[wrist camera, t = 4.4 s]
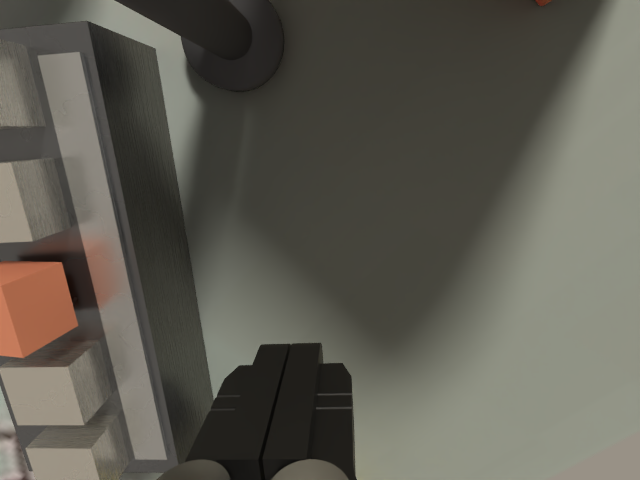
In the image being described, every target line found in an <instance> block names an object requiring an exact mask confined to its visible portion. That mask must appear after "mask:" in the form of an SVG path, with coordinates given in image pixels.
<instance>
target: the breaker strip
mask: <svg viewBox="0 0 640 480" xmlns="http://www.w3.org/2000/svg"><path fill="white" fill-rule="evenodd" d="M2 261H32V262H62V265H63V269H64V273H65V277H66V280H67V284H68V288H69V292H70V296H71V300H72V303H73V307H74V311H75V315H76V319H77V322H78V326H77V327H75V328H73V329H72V330H70V331H68V332H67V333H65V334H63V335H62V336H60V337H58V338H57V339H55V340H53V341H51V342H50V343H48V344H46V345H45V346H43V347H41V348H40V349H38V350H36V351H35V352H33V353H31V354H29V355H28V356H26V357H24V358H18V357H9V356H0V386H1V389H2V392H3V395H4V398H5V401H6V404H7V407H8V410H9V413H10V416H11V419H12V421H13V424H14V427H15V430H16V433H17V436H18V439H19V442H20V445H21V448H22V451H23V454H24V457H25V460H26V463H27V466H28V469H29V471H33V473H34V476H35V479H36V480H118V479H119V478H120V476H121V475H122V473H123V472H156V473H165V472H167V471H168V470H169V469H171V468H173V467H175V466H177V465H179V464H182V463H184V462H185V460H186V458H187V456H188V454H189V452H190V450H191V447H192V445H193V443H194V441H195V439H196V437H197V435H198V433H199V431H200V429H201V427H202V425H203V423H204V421H205V419H206V417H207V414H208V412H209V411H211V406H212V404H213V402H214V401H213V395H212V388H211V382H210V376H209V370H208V364H207V358H206V352H205V346H204V340H203V334H202V328H201V322H200V316H199V310H198V304H197V298H196V292H195V286H194V280H193V274H192V268H191V262H190V256H189V250H188V244H187V238H186V232H185V226H184V219H183V213H182V207H181V201H180V195H179V189H178V183H177V177H176V171H175V165H174V159H173V153H172V147H171V141H170V135H169V129H168V123H167V117H166V111H165V105H164V99H163V93H162V87H161V81H160V75H159V69H158V63H157V56H156V50H155V48H153V47H150V46H148V45H145V44H143V43H140V42H138V41H135V40H133V39H130V38H128V37H126V36H123V35H121V34H118V33H116V32H113V31H111V30H108V29H106V28H103V27H101V26H98V25H96V24H93V23H91V22H89V21H81V22H71V23H61V24H51V25H40V26H30V27H20V28H10V29H0V262H2Z"/></svg>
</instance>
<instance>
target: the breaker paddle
mask: <svg viewBox="0 0 640 480" xmlns="http://www.w3.org/2000/svg"><path fill="white" fill-rule="evenodd" d="M77 326H78V322H77V319H76V315H75V311H74V307H73V303H72V300H71V296H70V292H69V288H68V284H67V280H66V277H65V273H64V269H63V265H62V262H32V261H2V262H0V356H9V357H18V358H24V357H26V356H28V355H29V354H31V353H33V352H35V351H36V350H38V349H40V348H41V347H43V346H45V345H46V344H48V343H50V342H51V341H53V340H55V339H57V338H58V337H60V336H62V335H63V334H65V333H67V332H68V331H70V330H72V329H73V328H75V327H77Z"/></svg>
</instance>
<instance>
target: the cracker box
mask: <svg viewBox="0 0 640 480" xmlns="http://www.w3.org/2000/svg"><path fill="white" fill-rule="evenodd" d="M535 1H536V2H537V3H538V4H539V6H544V5H546V4H547V3H549V2H550V1H552V0H535Z"/></svg>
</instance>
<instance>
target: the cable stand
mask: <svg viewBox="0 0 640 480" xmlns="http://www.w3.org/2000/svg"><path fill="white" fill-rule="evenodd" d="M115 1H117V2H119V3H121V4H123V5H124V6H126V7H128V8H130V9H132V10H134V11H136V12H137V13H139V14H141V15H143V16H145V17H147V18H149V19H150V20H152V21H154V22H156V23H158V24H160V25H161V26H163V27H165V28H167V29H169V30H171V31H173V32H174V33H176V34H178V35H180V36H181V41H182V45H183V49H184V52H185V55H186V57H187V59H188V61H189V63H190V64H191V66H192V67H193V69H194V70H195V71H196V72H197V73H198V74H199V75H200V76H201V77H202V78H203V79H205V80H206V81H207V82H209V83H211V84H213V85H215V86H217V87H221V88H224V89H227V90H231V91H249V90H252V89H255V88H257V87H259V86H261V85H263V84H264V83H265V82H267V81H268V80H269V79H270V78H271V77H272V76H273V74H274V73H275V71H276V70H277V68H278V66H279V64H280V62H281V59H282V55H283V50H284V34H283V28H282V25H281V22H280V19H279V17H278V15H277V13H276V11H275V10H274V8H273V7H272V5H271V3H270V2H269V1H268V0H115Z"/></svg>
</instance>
